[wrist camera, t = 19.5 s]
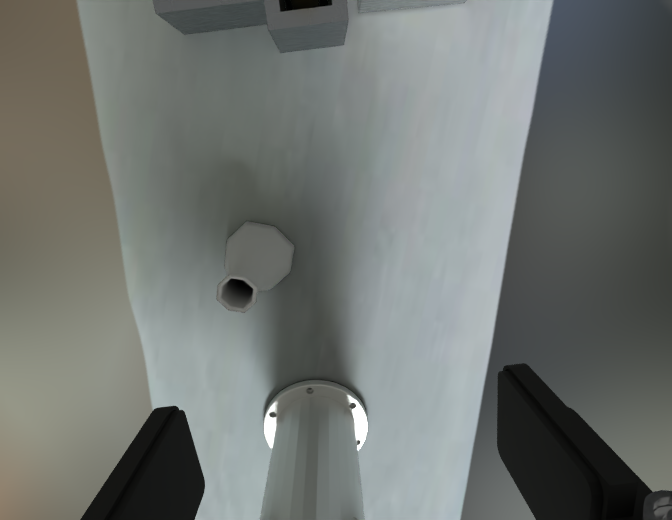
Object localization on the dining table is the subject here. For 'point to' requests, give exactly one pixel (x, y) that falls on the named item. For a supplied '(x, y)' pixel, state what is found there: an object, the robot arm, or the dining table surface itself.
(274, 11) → the hinge base
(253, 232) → the flask
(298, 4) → the hinge pin
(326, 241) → the dining table surface
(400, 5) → the loose leaf
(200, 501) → the robot arm
